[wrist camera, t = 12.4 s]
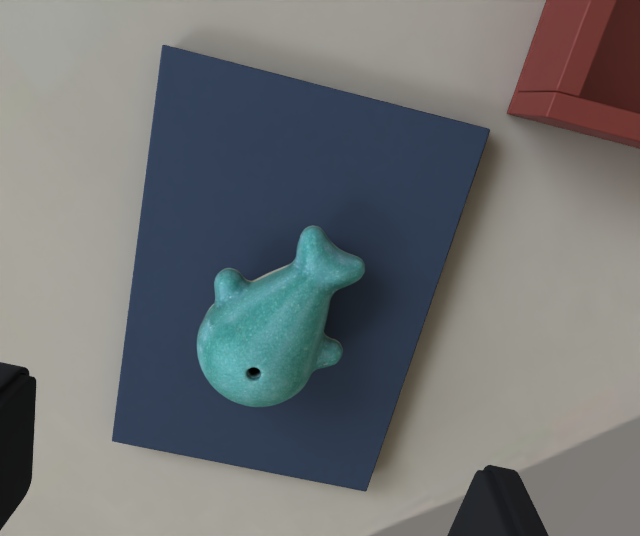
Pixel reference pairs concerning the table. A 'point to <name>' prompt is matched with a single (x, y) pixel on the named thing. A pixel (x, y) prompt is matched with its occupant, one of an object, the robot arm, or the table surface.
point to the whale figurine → (275, 324)
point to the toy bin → (584, 70)
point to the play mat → (285, 257)
